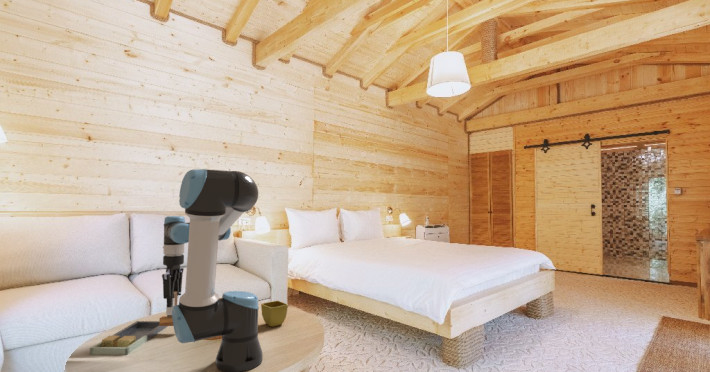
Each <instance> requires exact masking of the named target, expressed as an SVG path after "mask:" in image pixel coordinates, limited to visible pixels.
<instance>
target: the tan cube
mask: <svg viewBox="0 0 710 372" xmlns="http://www.w3.org/2000/svg"><path fill="white" fill-rule="evenodd" d="M119 339H120V336H112V335H109V336H106V337H105V338H102V339H101V342H102V347H118V340H119Z"/></svg>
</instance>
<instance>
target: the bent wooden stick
mask: <svg viewBox="0 0 710 372" xmlns="http://www.w3.org/2000/svg"><path fill="white" fill-rule="evenodd" d="M173 298H174V306H175V305H177V291H174V295H173ZM158 321H159V326H167V327H174V326H173V319H172V315H165V316H164V315H163V316H161V317H159V320H158Z"/></svg>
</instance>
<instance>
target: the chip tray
mask: <svg viewBox="0 0 710 372" xmlns="http://www.w3.org/2000/svg"><path fill="white" fill-rule="evenodd" d="M111 336H115V335H114V334H112V335H111ZM146 342H148V341H147V336H143V337H141V338H140V339H138V340H137V341H135V342H134V343H132V344H131V345H129V346H128V347H102V341H100V342H99V343H96V344H94V346H91V347H90V348H89V355H129V354H131V353H132V352H133V351H135V350H136V349H138V348H139V347H141V346H142V345H143V344H145V343H146Z"/></svg>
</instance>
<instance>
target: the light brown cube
mask: <svg viewBox="0 0 710 372" xmlns="http://www.w3.org/2000/svg"><path fill="white" fill-rule="evenodd" d="M135 340H136V336H124V337H122V338H120V339H119V340H118V347H128V346H129V345H131V344H132V343H134V342H135Z"/></svg>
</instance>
